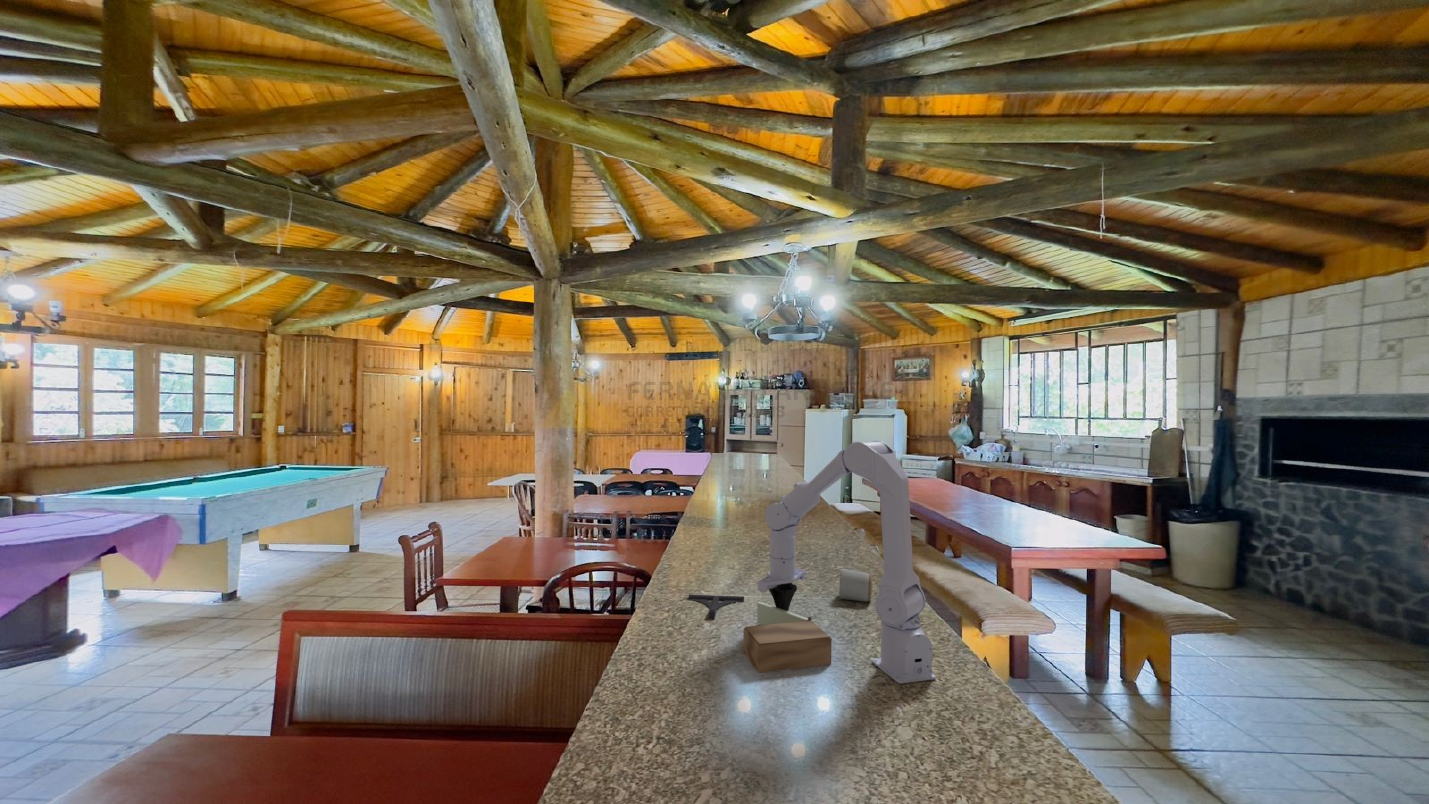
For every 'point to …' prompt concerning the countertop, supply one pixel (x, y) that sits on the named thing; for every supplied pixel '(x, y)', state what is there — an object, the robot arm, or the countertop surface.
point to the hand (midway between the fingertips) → (782, 617)
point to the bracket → (715, 602)
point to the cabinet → (786, 646)
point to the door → (775, 615)
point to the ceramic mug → (855, 585)
